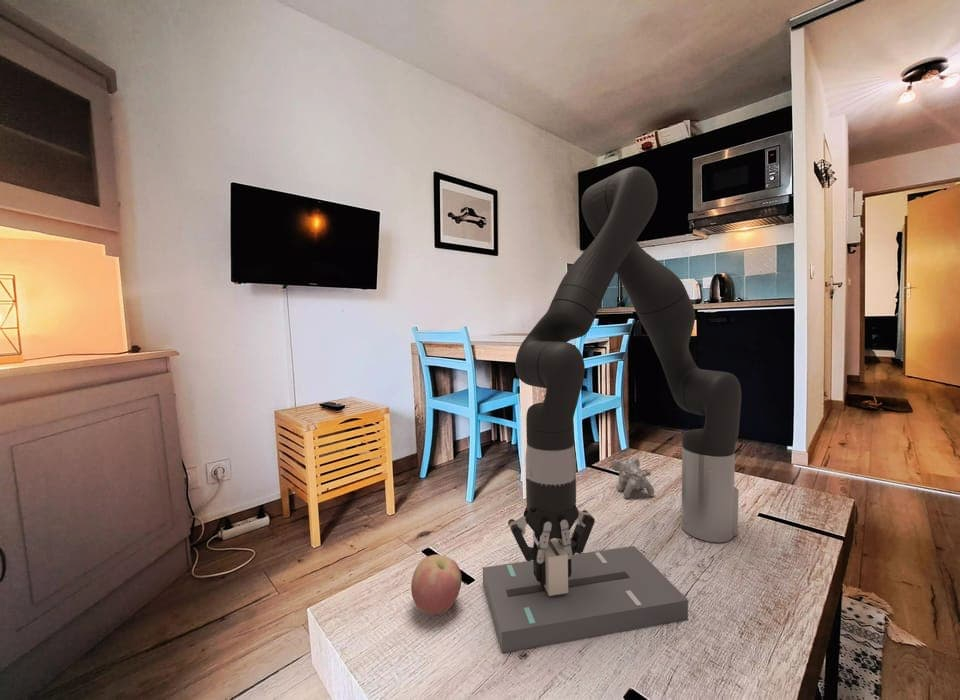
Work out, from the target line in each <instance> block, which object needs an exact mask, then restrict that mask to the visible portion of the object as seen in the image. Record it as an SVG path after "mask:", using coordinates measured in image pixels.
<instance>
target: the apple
mask: <svg viewBox="0 0 960 700" xmlns="http://www.w3.org/2000/svg"><path fill="white" fill-rule="evenodd" d="M410 584H411V585H410V589H411V590H410V591H411V596H412V599H413V602H414V603H415V605H416V607H417V608H418V609H419V610H421V612H423V613H426V614H428V615H429V614H431V615H440V614H443V613H446V612H447V611H449V609H450V608H451V607H452V606H453V604H455V602H456V600H457V598H458V596H459V594H460V591H461V586H462V573H461V569H460V566H459V564H458V563H457V562H456V561H455V560H454V559H452V558H451V557H449V556H445V555H441V554H431V555H428V556H427V557H425V558H423V559H422V560H421V561H420V562H419V563H418V564H417V566H416V567H415V569H414V571H413V574H412V579H411V583H410Z"/></svg>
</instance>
